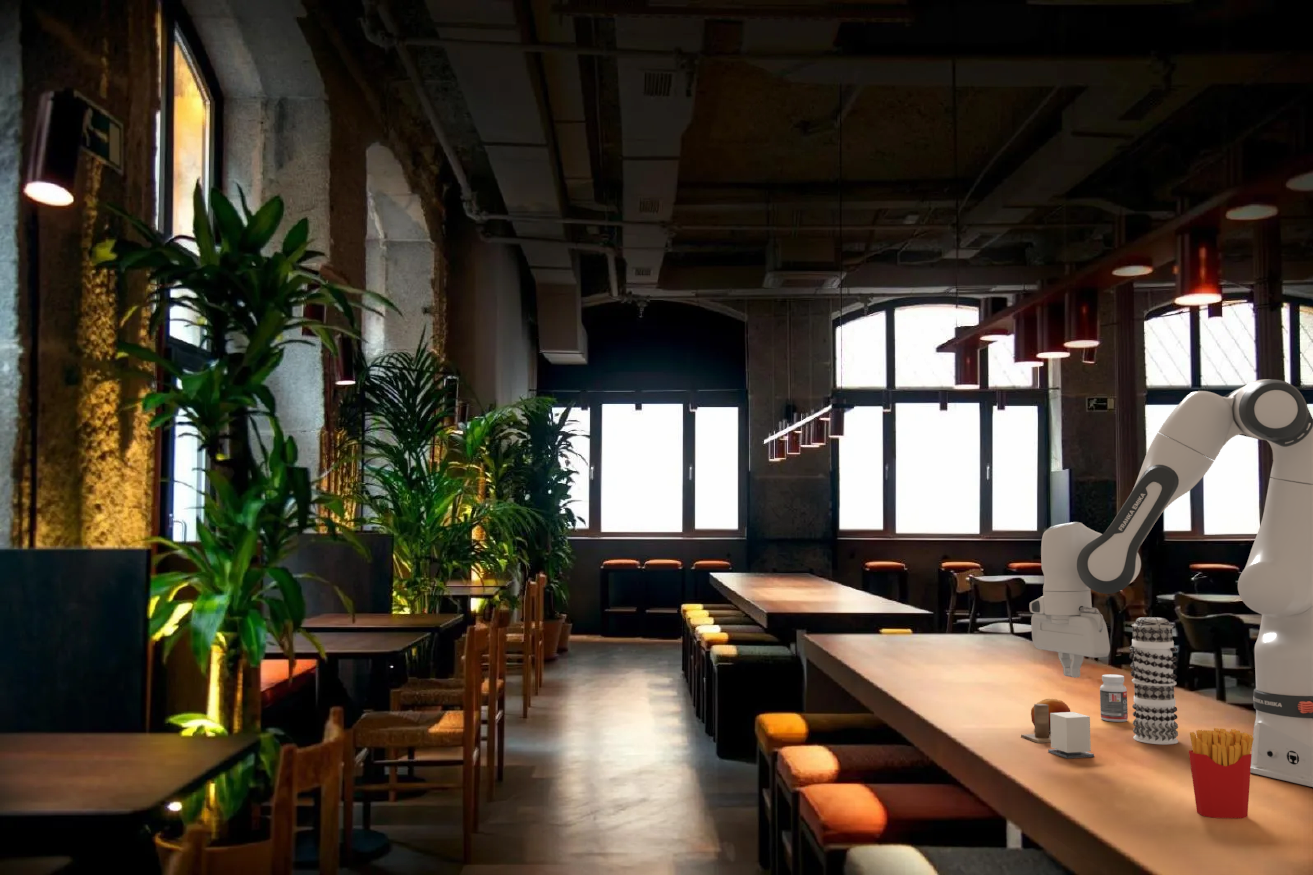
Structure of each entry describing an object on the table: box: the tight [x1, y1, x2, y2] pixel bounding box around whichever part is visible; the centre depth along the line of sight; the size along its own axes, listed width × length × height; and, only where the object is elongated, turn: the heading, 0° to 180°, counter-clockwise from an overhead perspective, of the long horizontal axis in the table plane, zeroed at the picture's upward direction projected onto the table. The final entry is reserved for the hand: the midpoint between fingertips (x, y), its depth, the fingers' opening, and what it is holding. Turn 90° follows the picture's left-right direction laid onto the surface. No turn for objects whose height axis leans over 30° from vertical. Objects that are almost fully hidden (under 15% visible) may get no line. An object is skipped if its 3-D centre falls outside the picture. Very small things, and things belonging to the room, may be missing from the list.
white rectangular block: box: [1050, 711, 1092, 753], centre depth 214 cm, size 5×5×7 cm
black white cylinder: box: [1128, 616, 1179, 745], centre depth 228 cm, size 9×9×25 cm
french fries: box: [1188, 727, 1254, 819], centre depth 172 cm, size 9×4×13 cm, turn 85°
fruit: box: [1030, 698, 1071, 733], centre depth 237 cm, size 8×8×8 cm
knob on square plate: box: [1020, 703, 1051, 744], centre depth 228 cm, size 6×6×7 cm
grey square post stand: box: [1047, 748, 1095, 760], centre depth 214 cm, size 6×6×7 cm
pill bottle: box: [1099, 673, 1129, 723], centre depth 249 cm, size 6×6×10 cm
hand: (1072, 676), depth 215 cm, fingers closed
